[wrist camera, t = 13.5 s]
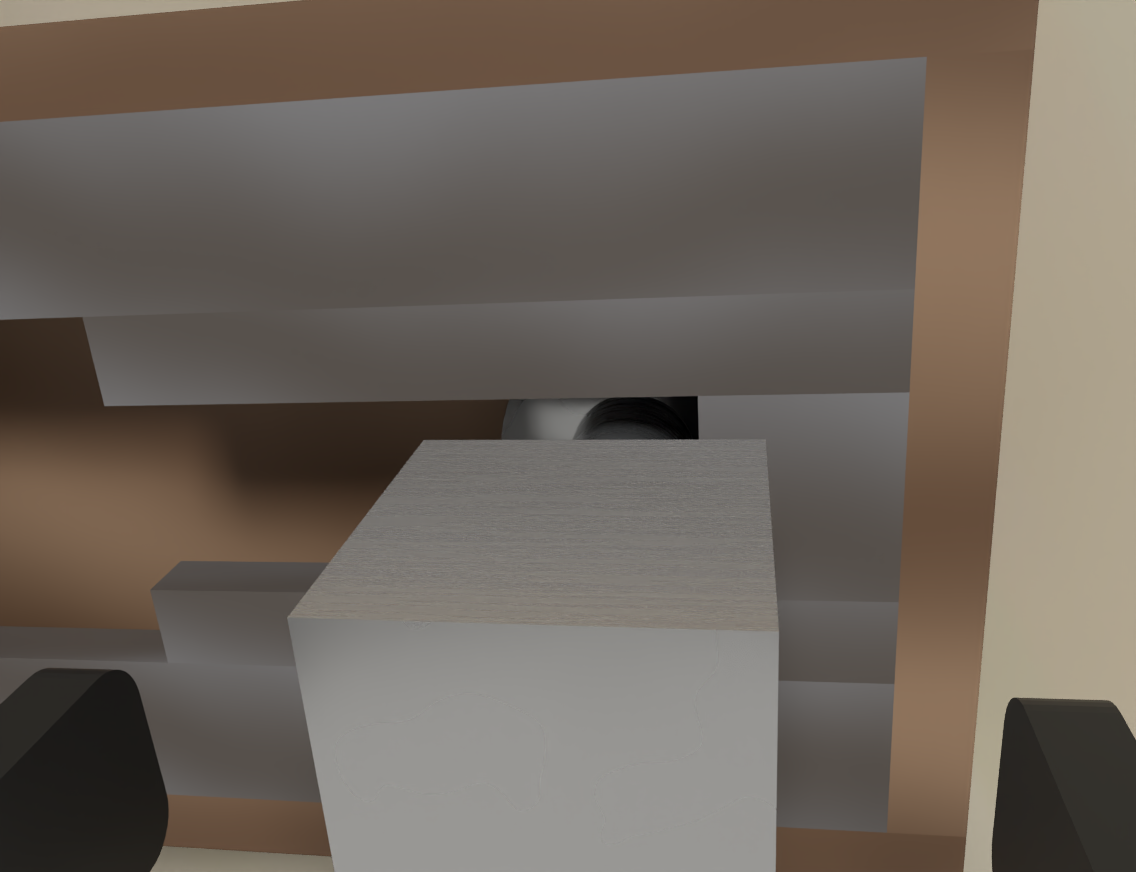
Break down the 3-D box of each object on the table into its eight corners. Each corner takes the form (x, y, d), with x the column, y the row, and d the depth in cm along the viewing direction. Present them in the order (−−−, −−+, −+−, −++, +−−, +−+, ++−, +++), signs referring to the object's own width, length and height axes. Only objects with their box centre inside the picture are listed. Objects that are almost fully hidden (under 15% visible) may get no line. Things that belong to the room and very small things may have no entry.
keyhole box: (-283, 66, 19) (-531, 72, 15) (969, -42, 15) (1044, -65, 11) (-62, 701, 24) (-208, 822, 20) (920, 737, 20) (961, 896, 16)
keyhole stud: (503, 308, 17) (260, 595, 8) (769, 302, 16) (806, 609, 8) (523, 542, 19) (337, 988, 10) (767, 545, 18) (796, 1030, 9)
